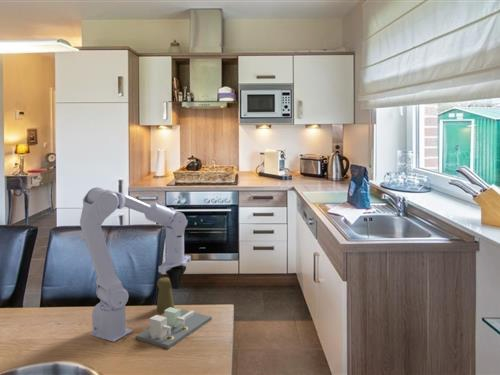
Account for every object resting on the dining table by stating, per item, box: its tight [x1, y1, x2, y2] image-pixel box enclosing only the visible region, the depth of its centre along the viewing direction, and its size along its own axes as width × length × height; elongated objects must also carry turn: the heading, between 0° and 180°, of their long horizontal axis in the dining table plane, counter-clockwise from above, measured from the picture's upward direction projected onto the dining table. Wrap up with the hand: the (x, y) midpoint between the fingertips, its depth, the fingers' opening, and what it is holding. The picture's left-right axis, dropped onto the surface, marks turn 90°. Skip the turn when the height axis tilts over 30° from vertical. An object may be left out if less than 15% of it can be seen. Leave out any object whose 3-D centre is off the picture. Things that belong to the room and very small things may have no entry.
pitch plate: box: [135, 308, 212, 350], centre depth 140 cm, size 12×22×6 cm, turn 152°
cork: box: [156, 277, 175, 314], centre depth 154 cm, size 6×6×11 cm
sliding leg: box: [163, 307, 185, 328], centre depth 139 cm, size 6×3×5 cm, turn 62°
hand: (175, 288), depth 149 cm, fingers closed
